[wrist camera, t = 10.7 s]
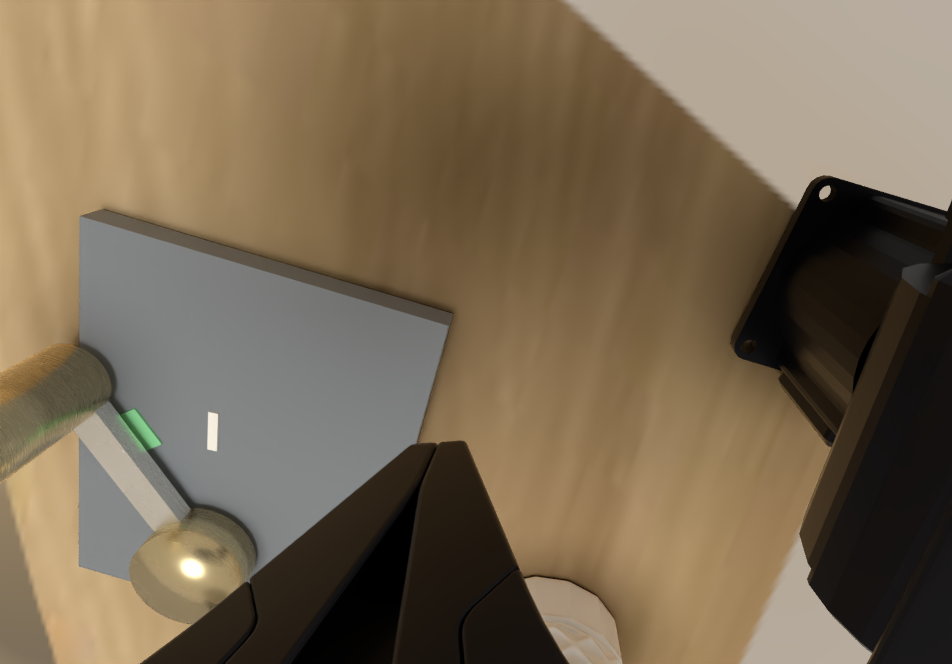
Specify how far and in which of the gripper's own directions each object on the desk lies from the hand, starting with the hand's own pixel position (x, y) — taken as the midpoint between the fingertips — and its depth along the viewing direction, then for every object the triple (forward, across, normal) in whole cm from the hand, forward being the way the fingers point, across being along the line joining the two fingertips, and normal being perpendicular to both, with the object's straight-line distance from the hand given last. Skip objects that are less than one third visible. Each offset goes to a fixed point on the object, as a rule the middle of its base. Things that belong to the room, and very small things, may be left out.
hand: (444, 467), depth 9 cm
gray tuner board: (+13, +12, +8) cm, 19 cm away
